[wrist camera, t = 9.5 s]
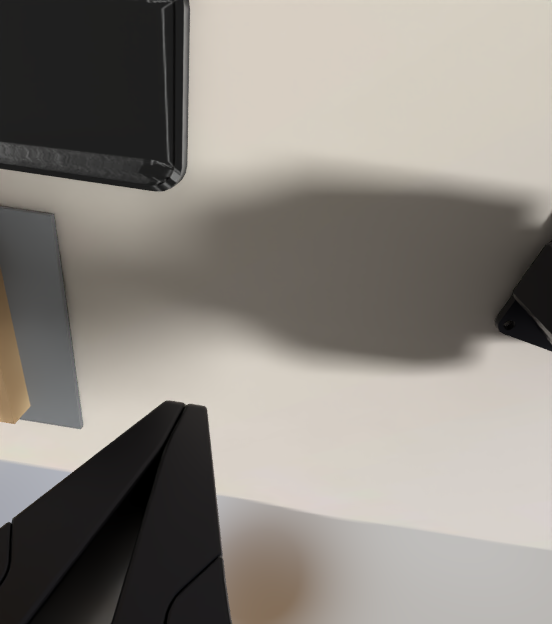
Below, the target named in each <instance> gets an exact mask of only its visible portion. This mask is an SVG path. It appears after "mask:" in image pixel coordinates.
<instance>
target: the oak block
mask: <svg viewBox="0 0 552 624" xmlns="http://www.w3.org/2000/svg"><path fill="white" fill-rule="evenodd" d="M29 407H30V402H29V397H28V392H27V388H26V383H25V378H24V374H23V369H22V365H21V360H20V355H19V351H18V346H17V341H16V337H15V332H14V327H13V323H12V318H11V313H10V309H9V304H8V299H7V295H6V290H5V285H4V281H3V276H2V272H1V267H0V422H6V423H12V424H15V423H16V422H17V421H18V420H19V419H20V417H21V416H22V415H23V414H24V413H25V412H26V411H27V410H28V409H29Z"/></svg>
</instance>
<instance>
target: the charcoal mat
mask: <svg viewBox="0 0 552 624" xmlns="http://www.w3.org/2000/svg"><path fill="white" fill-rule="evenodd" d="M0 267H1V272H2V276H3V281H4V285H5V290H6V295H7V299H8V304H9V309H10V313H11V318H12V323H13V327H14V332H15V337H16V341H17V346H18V351H19V355H20V360H21V365H22V369H23V374H24V378H25V383H26V388H27V392H28V397H29V402H30V407H29V409H28V410H27V411H26V412H25V413H24V414H23V415H22V416H21V417H20V419H21V420H27V421H33V422H39V423H45V424H51V425H58V426H64V427H70V428H76V429H81V428H82V427H83V420H82V413H81V406H80V399H79V391H78V384H77V377H76V370H75V362H74V355H73V348H72V341H71V333H70V326H69V319H68V312H67V304H66V297H65V290H64V283H63V275H62V268H61V261H60V254H59V246H58V239H57V232H56V225H55V217H54V214H50V213H44V212H37V211H31V210H24V209H17V208H11V207H4V206H0Z"/></svg>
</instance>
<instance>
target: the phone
mask: <svg viewBox="0 0 552 624" xmlns="http://www.w3.org/2000/svg"><path fill="white" fill-rule="evenodd" d="M189 32H190V6H189V0H0V169H7V170H14V171H20V172H27V173H34V174H41V175H48V176H54V177H61V178H68V179H75V180H81V181H88V182H95V183H102V184H109V185H115V186H122V187H129V188H136V189H142V190H149V191H165V190H168V189H170V188H172V187H174V186H175V185H176V184H178V183H179V182H180V181H181V180H182V179H183V177H184V175H185V173H186V168H187V147H188V89H189Z"/></svg>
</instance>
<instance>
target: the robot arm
mask: <svg viewBox="0 0 552 624" xmlns="http://www.w3.org/2000/svg"><path fill="white" fill-rule="evenodd" d="M509 320H511V323H510V324H509V325H506V326H505V325H504V323H505V322H507V321H509ZM495 325H496V327H497V328H498V330H499V331H500V332H501V333H503V334H505V335H508V336H511V337H514V338H516V339H519V340H522V341H525V342H527V343H530V344H533V345H536V346H539V347H541V348H544V349H547V350H550V351H552V241H551V242H550V243H549V244H547V245H546V246H545V247H544V248H543V250H542V251H541V253H540V254H539V255H538V257H537V258H536V260H535V261H534V262H533V264H532V265H531V267H530V268H529V269H528V271H527V272H526V274H525V275H524V276H523V278H522V279H521V281H520V282H519V284H518V285H517V286H516V288H515V289H514V291H513V295H512V297H511V298H510V299H509V301H508V302H507V304H506V305H505V306H504V308H503V309H502V311H501V312H500V313H499V315H498V316H497V318H496V320H495ZM0 624H232V621H231V616H230V609H229V602H228V594H227V587H226V579H225V571H224V561H223V558H222V545H221V535H220V525H219V516H218V507H217V498H216V488H215V479H214V470H213V460H212V451H211V442H210V432H209V423H208V414H207V408H206V407H205V406H201V405H194V404H188V405H185V404H184V403H182V402H175V401H165V402H163V403H162V404H161V405H159V406H158V407H157V408H155V409H154V410H153V411H151V412H150V413H149V414H148V415H146V416H145V417H144V418H142V419H141V420H140V421H138V422H137V423H136V424H135V425H133V426H132V427H131V428H129V429H128V430H127V431H126V432H124V433H123V434H122V435H120V436H119V437H118V438H116V439H115V440H114V441H113V442H111V443H110V444H109V445H107V446H106V447H105V448H103V449H102V450H101V451H100V452H98V453H97V454H96V455H94V456H93V457H92V458H91V459H89V460H88V461H87V462H85V463H84V464H83V465H81V466H80V467H79V468H78V469H76V470H75V471H74V472H72V473H71V474H70V475H69V476H67V477H66V478H65V479H63V480H62V481H61V482H60V483H58V484H57V485H56V486H54V487H53V488H52V489H51V490H49V491H48V492H47V493H45V494H44V495H43V496H41V497H40V498H39V499H37V500H36V501H35V502H34V503H32V504H31V505H30V506H28V507H27V508H26V509H25V510H23V511H22V512H21V513H19V514H18V515H17V516H16V517H14V518H13V519H12V524H11V523H10V522H8V523H6V524H5V525H3V526H2V527H1V528H0Z"/></svg>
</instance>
